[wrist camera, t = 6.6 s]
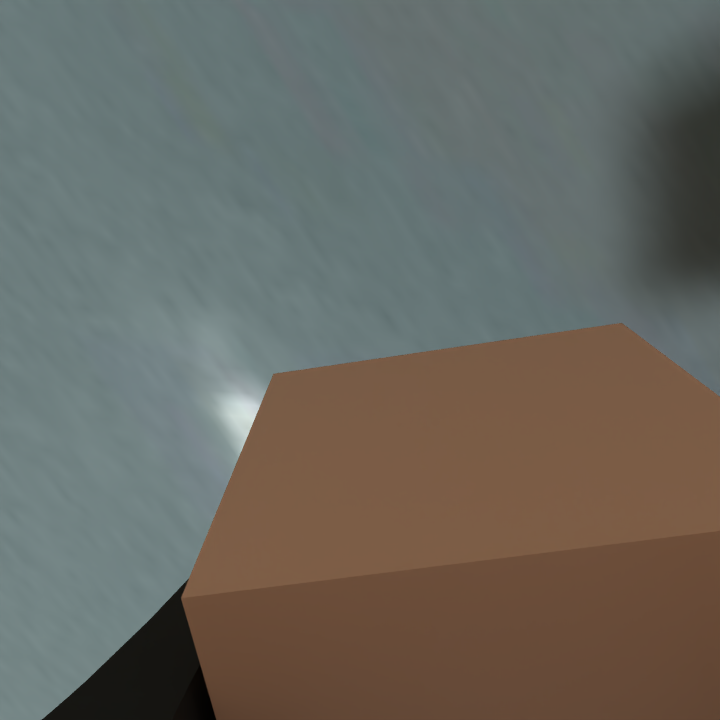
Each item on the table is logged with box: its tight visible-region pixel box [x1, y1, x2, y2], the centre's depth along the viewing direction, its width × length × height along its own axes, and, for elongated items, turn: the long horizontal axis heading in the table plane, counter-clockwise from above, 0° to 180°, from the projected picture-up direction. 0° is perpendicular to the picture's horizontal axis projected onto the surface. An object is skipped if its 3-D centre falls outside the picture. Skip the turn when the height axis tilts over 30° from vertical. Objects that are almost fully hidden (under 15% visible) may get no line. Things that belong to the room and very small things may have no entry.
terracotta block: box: [181, 323, 720, 720], centre depth 8 cm, size 5×5×5 cm
